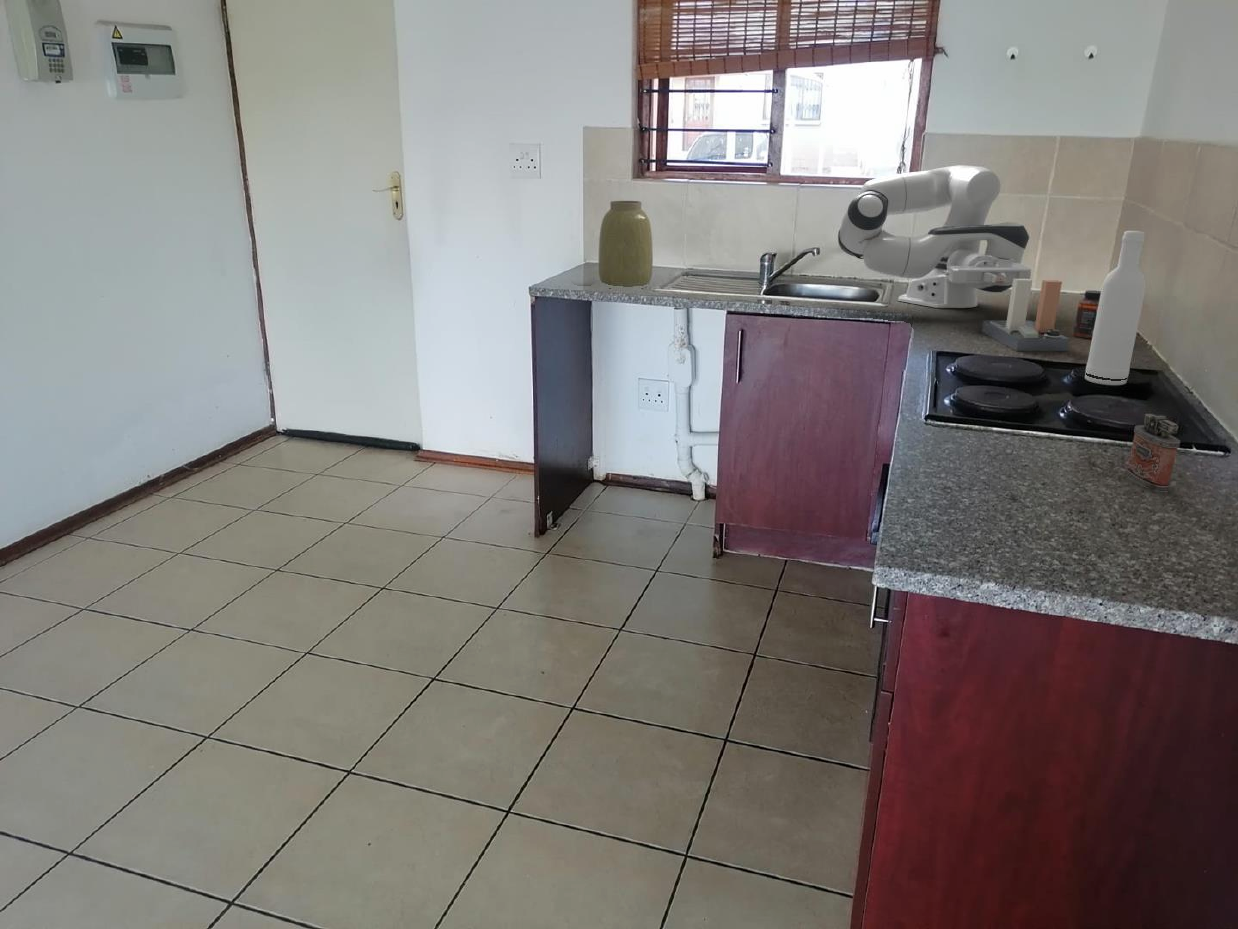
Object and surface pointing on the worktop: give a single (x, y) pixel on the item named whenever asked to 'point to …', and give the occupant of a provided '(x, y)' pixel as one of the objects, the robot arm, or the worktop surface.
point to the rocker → (1028, 332)
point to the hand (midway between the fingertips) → (1000, 279)
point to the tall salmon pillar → (1048, 305)
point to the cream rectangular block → (1018, 304)
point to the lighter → (1153, 453)
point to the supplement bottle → (1087, 314)
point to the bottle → (1118, 315)
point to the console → (1018, 342)
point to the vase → (625, 246)
